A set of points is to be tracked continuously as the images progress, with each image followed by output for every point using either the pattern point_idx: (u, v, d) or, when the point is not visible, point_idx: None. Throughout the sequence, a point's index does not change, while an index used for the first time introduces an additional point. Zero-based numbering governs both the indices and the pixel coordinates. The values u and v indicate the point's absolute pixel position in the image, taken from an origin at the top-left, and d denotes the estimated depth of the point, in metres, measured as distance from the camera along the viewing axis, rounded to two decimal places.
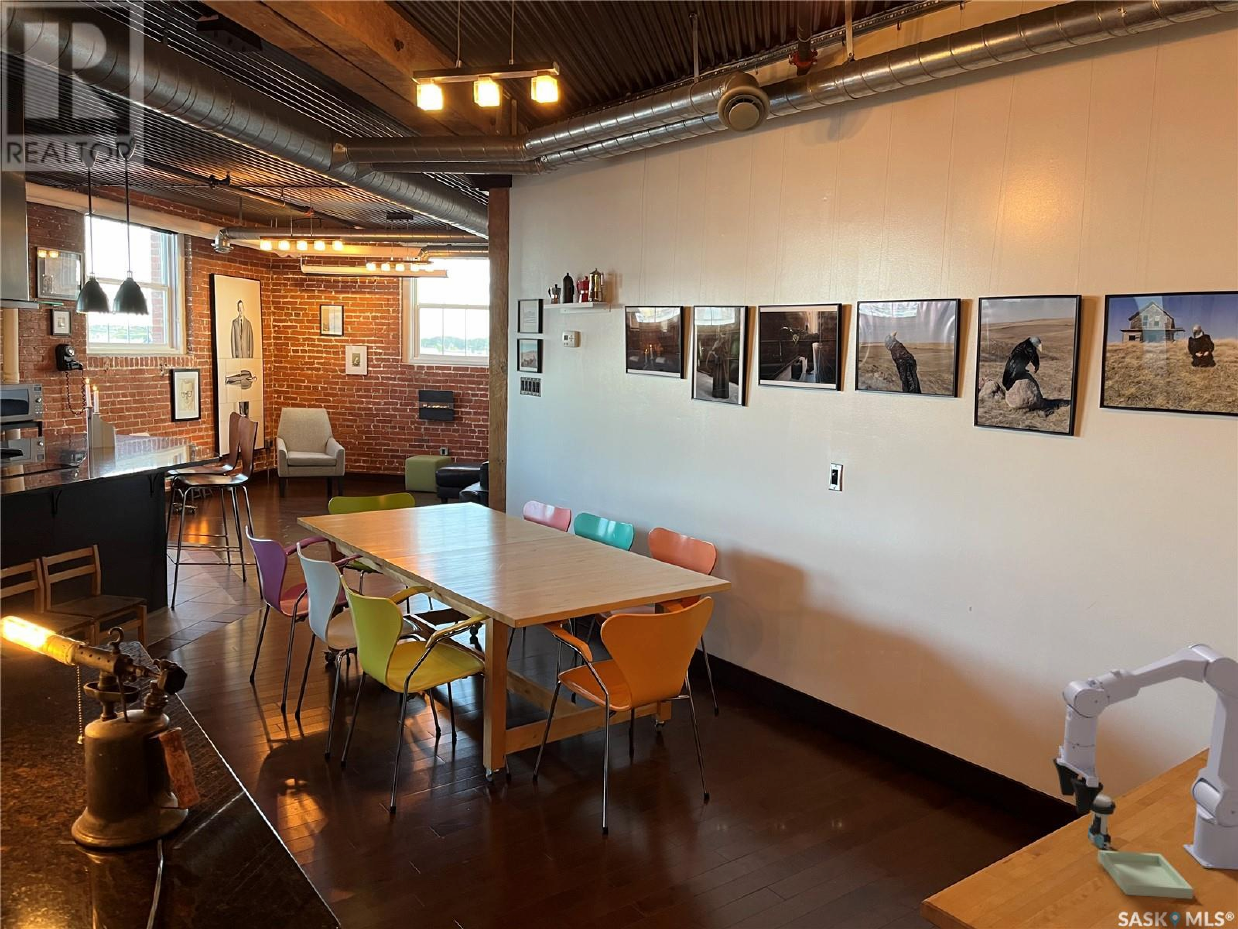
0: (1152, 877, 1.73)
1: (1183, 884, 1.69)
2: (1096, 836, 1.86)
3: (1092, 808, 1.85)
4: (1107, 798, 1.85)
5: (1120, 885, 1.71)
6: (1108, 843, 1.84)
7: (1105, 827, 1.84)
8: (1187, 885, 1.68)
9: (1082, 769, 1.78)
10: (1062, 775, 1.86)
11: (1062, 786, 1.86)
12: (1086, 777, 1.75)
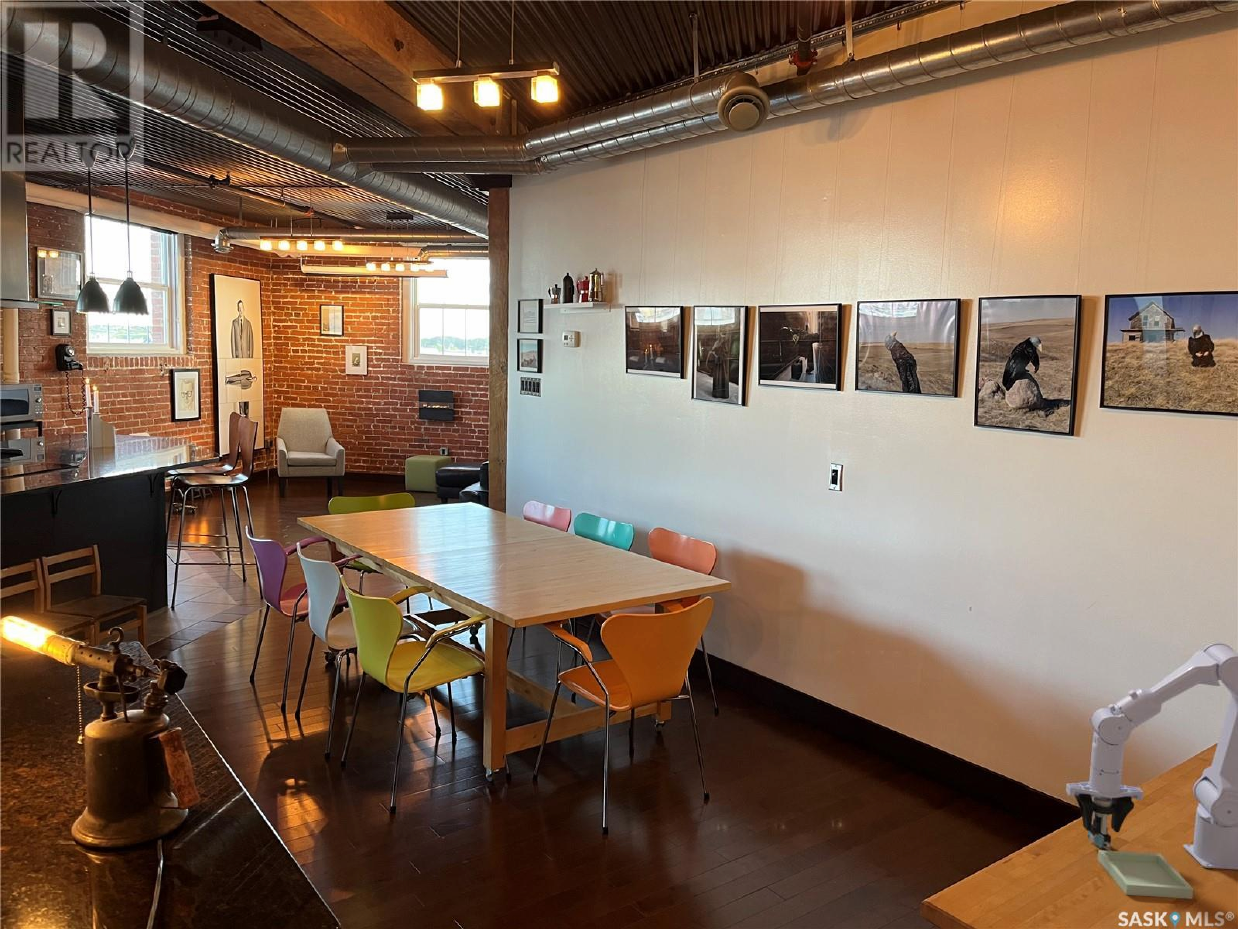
0: (1152, 877, 1.73)
1: (1183, 884, 1.69)
2: (1096, 836, 1.86)
3: None
4: (1107, 798, 1.85)
5: (1120, 885, 1.71)
6: (1108, 843, 1.84)
7: (1105, 827, 1.84)
8: (1187, 885, 1.68)
9: None
10: None
11: (1112, 818, 1.86)
12: None
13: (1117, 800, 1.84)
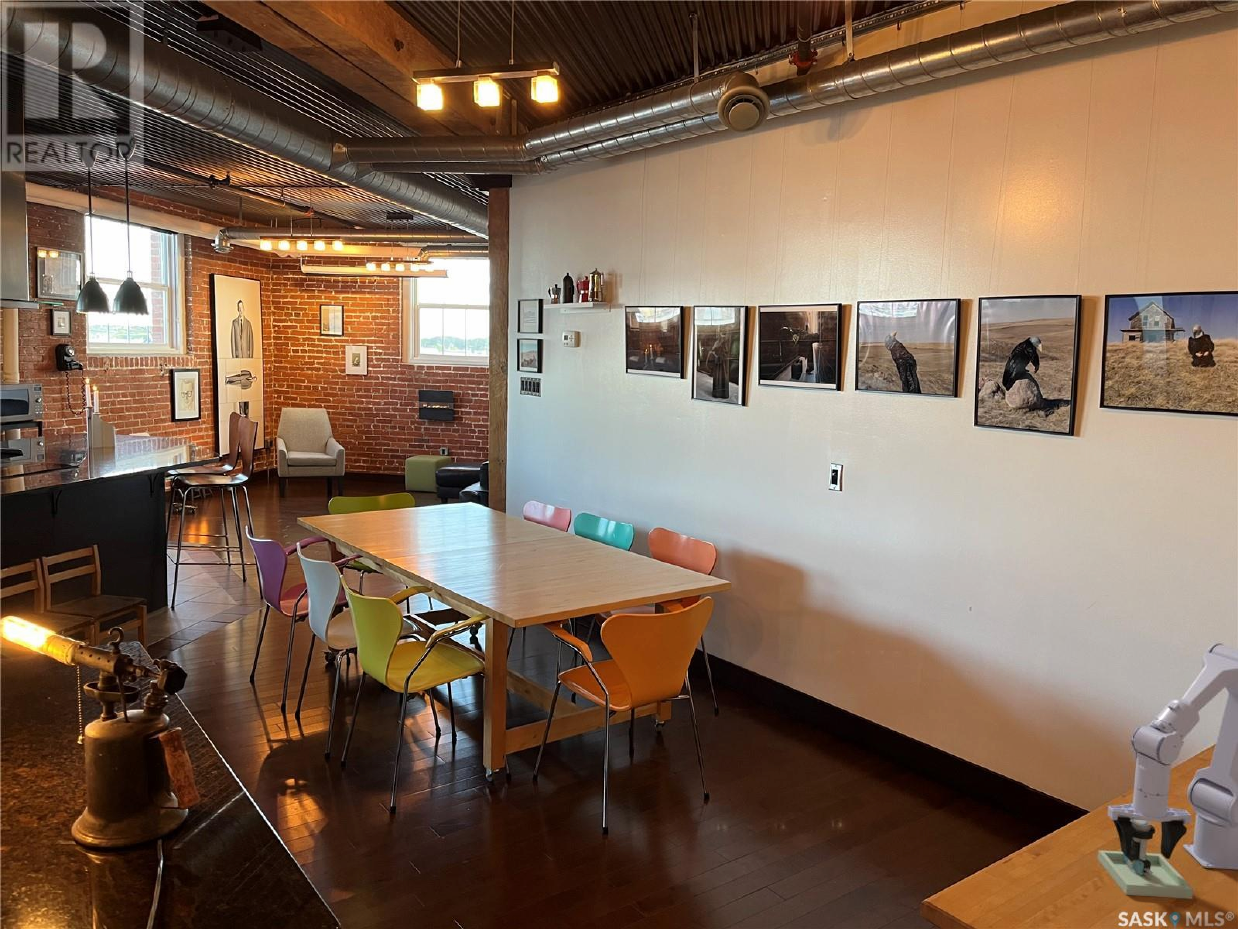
0: None
1: (1183, 884, 1.69)
2: (1135, 862, 1.75)
3: None
4: (1146, 821, 1.75)
5: (1120, 885, 1.71)
6: (1148, 869, 1.73)
7: (1144, 852, 1.74)
8: (1187, 885, 1.68)
9: None
10: (1162, 831, 1.74)
11: (1161, 843, 1.74)
12: None
13: (1168, 824, 1.72)
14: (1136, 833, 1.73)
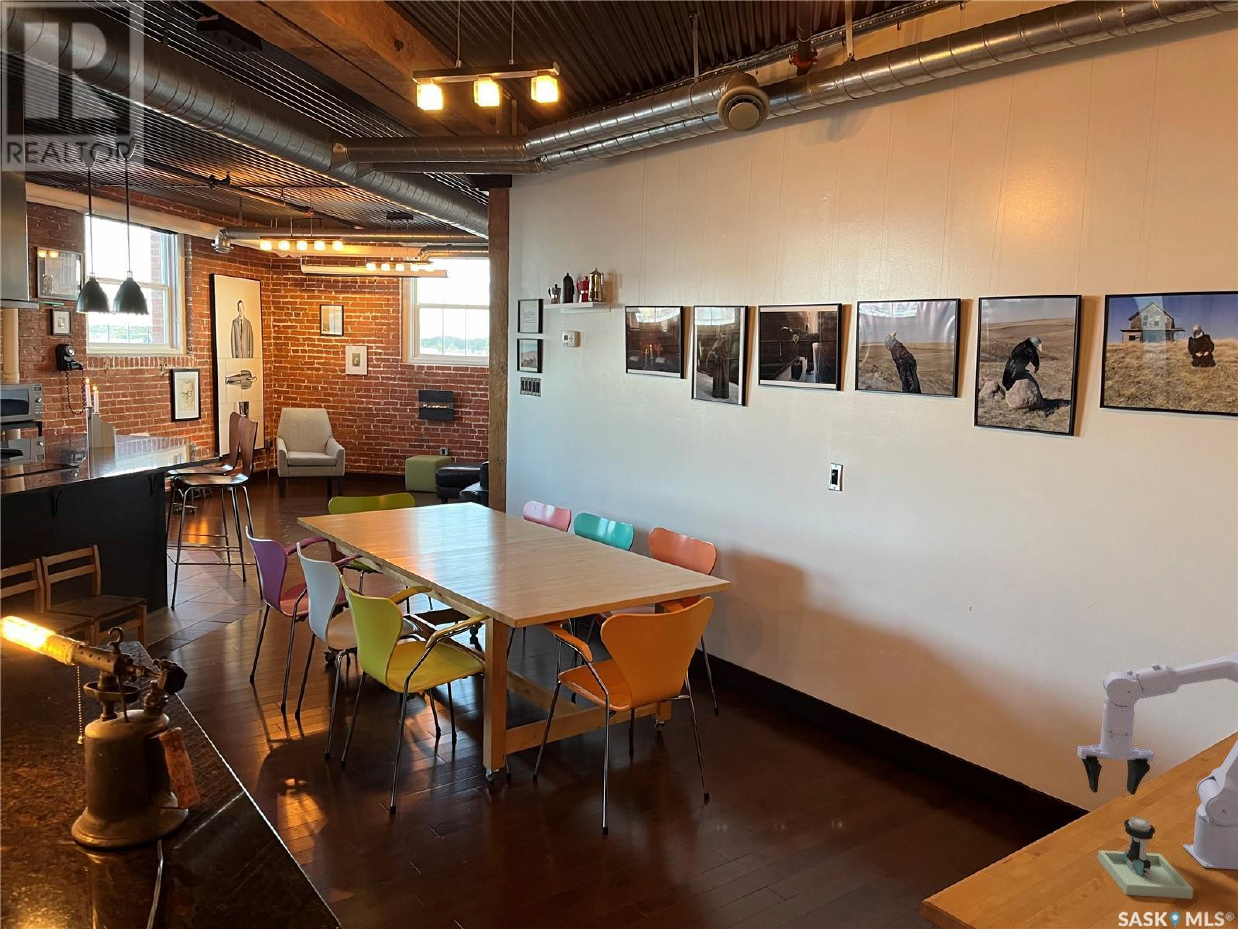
0: None
1: (1183, 884, 1.69)
2: (1135, 862, 1.75)
3: (1131, 833, 1.74)
4: (1146, 821, 1.75)
5: (1120, 885, 1.71)
6: (1148, 869, 1.73)
7: (1144, 852, 1.74)
8: (1187, 885, 1.68)
9: None
10: (1128, 770, 1.88)
11: (1127, 780, 1.88)
12: None
13: (1133, 763, 1.86)
14: (1136, 833, 1.73)
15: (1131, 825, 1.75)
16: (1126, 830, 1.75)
